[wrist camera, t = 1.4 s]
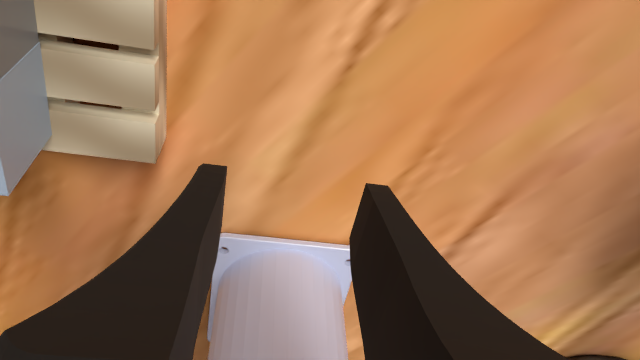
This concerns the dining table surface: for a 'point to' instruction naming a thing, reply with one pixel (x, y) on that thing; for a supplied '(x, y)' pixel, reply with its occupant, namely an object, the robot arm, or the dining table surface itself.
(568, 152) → the dining table surface
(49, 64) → the pallet
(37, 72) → the blue crate
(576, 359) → the salad plate
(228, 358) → the robot arm
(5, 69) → the grey cubic piece
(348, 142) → the dining table surface
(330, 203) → the dining table surface
